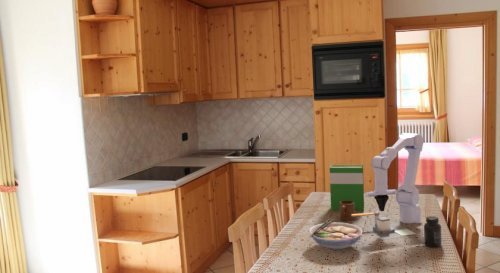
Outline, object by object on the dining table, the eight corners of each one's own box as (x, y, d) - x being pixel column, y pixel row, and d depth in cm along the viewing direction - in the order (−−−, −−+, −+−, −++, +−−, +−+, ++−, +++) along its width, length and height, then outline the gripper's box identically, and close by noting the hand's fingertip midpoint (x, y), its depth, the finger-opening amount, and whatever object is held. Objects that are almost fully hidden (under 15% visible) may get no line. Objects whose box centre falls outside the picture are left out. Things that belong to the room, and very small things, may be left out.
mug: (349, 225, 222) (349, 207, 221) (335, 224, 226) (334, 205, 224) (357, 218, 232) (356, 201, 231) (342, 217, 236) (342, 199, 235)
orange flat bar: (380, 215, 213) (380, 213, 213) (352, 217, 213) (352, 215, 212) (378, 213, 216) (378, 211, 216) (351, 215, 215) (351, 213, 215)
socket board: (394, 224, 220) (394, 211, 219) (417, 235, 203) (417, 221, 202) (361, 229, 216) (361, 215, 215) (381, 241, 198) (381, 227, 197)
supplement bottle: (441, 242, 193) (440, 215, 192) (442, 248, 187) (442, 220, 185) (423, 241, 195) (423, 214, 194) (424, 247, 189) (424, 219, 187)
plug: (385, 228, 212) (384, 216, 211) (389, 231, 208) (389, 218, 207) (377, 230, 211) (377, 217, 210) (382, 232, 207) (381, 220, 206)
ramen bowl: (351, 261, 178) (351, 241, 177) (299, 252, 190) (298, 234, 190) (370, 241, 199) (370, 223, 198) (322, 234, 211) (322, 217, 210)
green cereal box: (364, 207, 252) (363, 165, 249) (363, 211, 245) (362, 167, 242) (332, 206, 257) (330, 165, 254) (331, 210, 250) (329, 167, 247)
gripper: (370, 185, 202) (371, 214, 203) (399, 182, 204) (400, 211, 206) (363, 182, 209) (364, 210, 210) (392, 179, 211) (392, 207, 213)
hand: (381, 210), depth 209 cm, fingers closed
